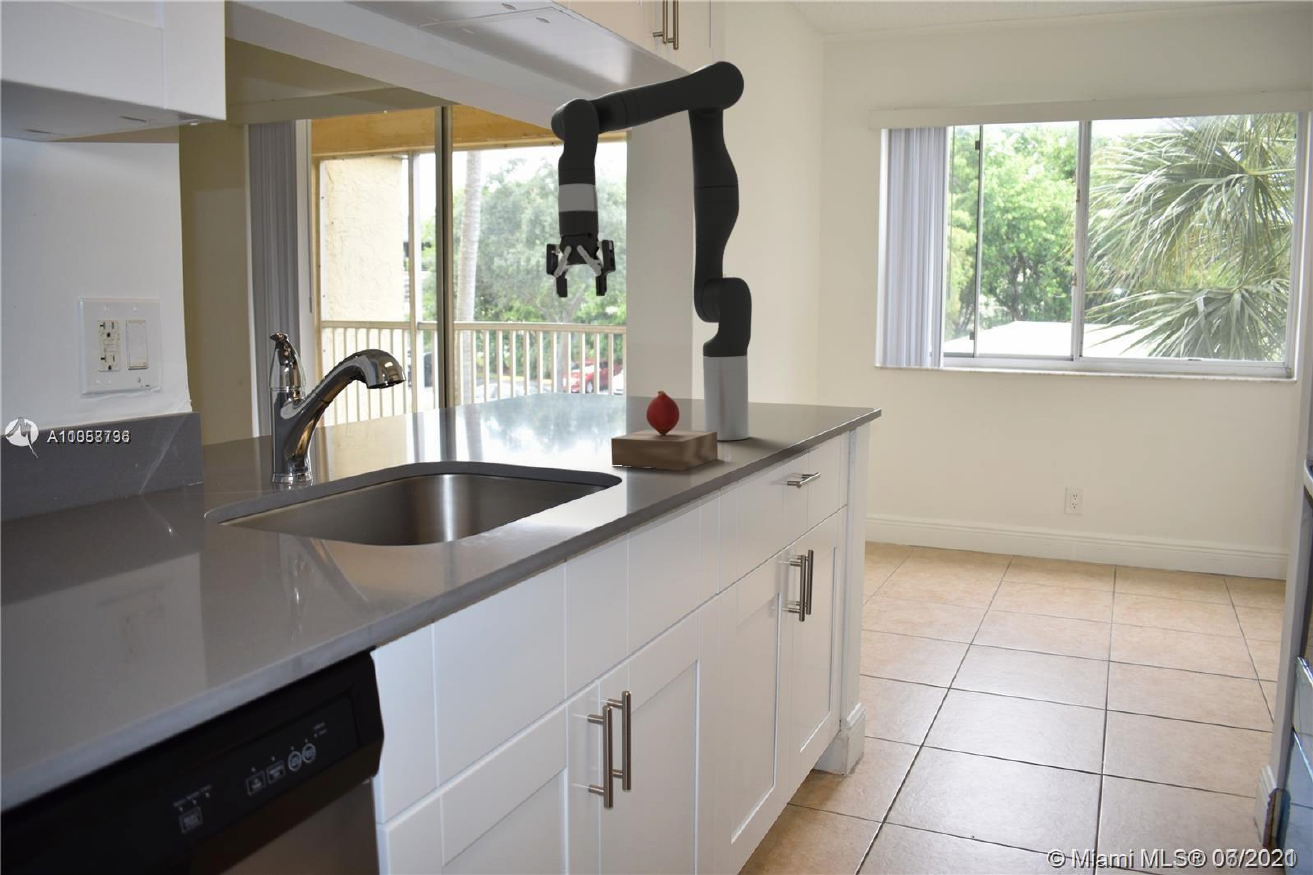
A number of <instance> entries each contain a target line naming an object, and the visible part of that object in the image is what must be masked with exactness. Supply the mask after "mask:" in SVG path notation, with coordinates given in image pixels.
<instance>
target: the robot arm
mask: <svg viewBox="0 0 1313 875" xmlns="http://www.w3.org/2000/svg"><path fill="white" fill-rule="evenodd" d="M744 90H745V80H744V76H743V73H742V72H741V70H740V69H739V68H738V67H737V66H736V65H735V64H733V63H731V62H729V61H724V60H718V61H713V62H711V63H708V64H706V65H703V66H701V67H700V68H699V67H698V68H697V69H696V70H694V71H693V72H692V73H690V74H689V73H688V74H686V75H683V76H680V77H675V78H673V79H668V80H663V81H659V82H655V83H650V84H649V83H647V84H645V85H639V86H634V87H629V88H625V89H620V90H616V91H612V92H608V93H606V94H603V95H601V96H599V97H597V98H593V99H589V100H588V99H586V98H581V97H580V98H578V97H577V98H574V99H571V100H569V101H568V102H565V103H564V104H562V105H560V106H559V107H557V109H555V111H554V112H553V114H552V116H551V118H550V119H551V120H550V126H551V130H552V133H553V134H554V136H556V138H557V139H559V140H560V141H562V142H563V148H562V149H563V151H562V154H561V155H560V156H559V159H558V160H557V161H558V163H557V171H558V172H557V174H558V175H557V177H558V180H557V181H558V193H557V209H558V210H557V213H558V231H559V232H558V233H559V236H560V242H559V243H554V242H553V243H552V242H551V243H547V244H546V248H545V250H546V252H545V253H546V254H545V255H546V257H545V260H546V261H545V262H546V265H545V268H546V269H545V271H546V275H548V276H549V275H550V276H553V277H554V278H555V283H556V284H555V286H556V288H555V289H556V295H557V296H558V297H559V299H561V298H562V299H563V298H568V294H569V293H568V290H569V289H568V278H567V275H568V273H569V271H570V270H572V269H573V267H574V266H580V265H587V266H589V268H591V269H592V270H593V272H594V273H595V275H596V276H595V278H594V280H595V281H594V282H595V295H596V296H597V297H604V296H606V293H607V291H608V283H607V282H608V279H607V277H608V274H611V273H614V272H616V271H617V270H616V269H617V266H616V257H615V256H616V254H615V245H614V240H612V239H602V240H600V239H599V232H600V226H599V224H600V223H599V205H598V204H599V202H598V193H597V184H596V182H597V181H596V164H595V162H596V154H597V150H598V149H597V148H598V142H599V135H602V134H605V133H608V132H615V131H622V130H625V129H629V128H633V127H637V126H641V125H645V124H649V123H650V122H654V121H656V120H660V119H662V118H666V117H669V116H671V115H674V114H678V113H681V112H685V111H687V114H688V121H689V129H690V137H691V156H692V158H691V159H692V160H691V161H692V172H693V173H692V174H693V175H692V177H693V178H692V179H693V182H692V183H693V187H692V188H693V193H692V194H693V211H694V228H695V231H694V233H695V257H694V258H695V260H694V275H693V276H694V278H693V305H694V310H695V313H696V315H697V317H698V319H699V320H701V321H703V322H704V323H711V324H718V325H717V326H718V328H717V332H716V334H715V335H714V336H713V337H712V338H710V339H709V340H706V341H705V342H704V343H703V345H702V363H703V364H702V365H703V366H702V368H703V369H702V370H703V405H704V406H703V408H704V409H703V412H704V420H703V421H704V431H717V441H738V440H745V439H748V438H750V437H749V436H750V429H749V427H750V426H749V423H750V422H749V421H750V420H749V419H750V417H749V370H748V369H749V368H748V367H749V366H748V365H749V364H748V362H749V361H748V350H749V349H748V348H749V345H750V342H751V337H752V315H753V314H752V312H753V308H752V307H753V306H752V305H753V302H752V301H753V300H752V293H751V289H750V287H749V285H748V283H747V282H746V281H745V280H744V279H743V278H741V277H738V276H737V277H734V276H731V277H728V276H727V277H724V269H723V268H724V265H723V264H724V255H725V250H726V247H727V244H728V242H729V239H730V237H731V234H732V232H733V230H734V227H735V226H736V223H737V220H738V217H739V212H740V192H739V191H740V188H739V186H740V185H739V178H738V174H737V171H736V167H735V165H734V163H733V161H732V158H731V155H730V153H729V150H728V148H727V146H726V142H725V137H724V110H727V109H730V108H731V107H733V106H734V105H736V104H737V103H738V102H739V100H740V99H741V98H742V95H743V93H744ZM599 251H601V253H602V255H601V256H602V259H601V258H600V256H599V255H598V252H599ZM560 253H561V254H562V256H561V258H559V255H560ZM559 259H560V260H559Z"/></svg>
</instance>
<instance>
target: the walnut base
mask: <svg viewBox="0 0 1313 875" xmlns="http://www.w3.org/2000/svg"><path fill="white" fill-rule="evenodd" d="M610 446H611V466H612V465H622V466H631V467H651V468H659V469H658V470H662V469H667V470H666V471H681V472H682V471H686V470H689V469H692V468H694V467H697V466H701V465H703V464H706V463H709V462H712V461H715V460H719V458H718V452H719V450H718V440H717V431H705V430H689V429H672V430H671V431H669V432H668V433H667V434H666V435H661V434H659V432H658V431H656V430H655V429H654V428H647V429H643V430H639V431H636V432H632V433H627V434H623V435H619V436H616V437H612V438H610Z"/></svg>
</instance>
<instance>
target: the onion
mask: <svg viewBox="0 0 1313 875" xmlns="http://www.w3.org/2000/svg"><path fill="white" fill-rule="evenodd" d="M657 393H658V394H657V396H655V397H654V398H653V399H652V400H651V401H650V403H649V405H648V407H647V408H646V409H647V410H646V421H647V422H648V424H649V425H650V426H651V428H652V429H655V430H656V431H658V432H659V434H661V435H666V434H667V433H668V432H669V431H671V430H674V428H675V427H676V426H677V424H678V422H679V420H680V409H679V406H678V404H677V402H676V401H675V400H674V399H673V398H672V397H670V396H669V395H668V394H667V393H666V392H665V391H664V390H659V391H657Z"/></svg>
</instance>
